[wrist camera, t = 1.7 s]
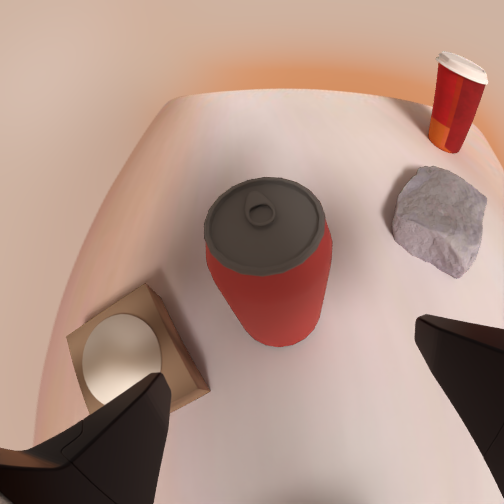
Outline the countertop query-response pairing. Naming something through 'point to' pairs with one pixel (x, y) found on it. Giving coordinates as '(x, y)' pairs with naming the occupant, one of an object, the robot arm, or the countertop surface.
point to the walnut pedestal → (132, 352)
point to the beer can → (270, 257)
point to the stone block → (440, 219)
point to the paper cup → (455, 100)
